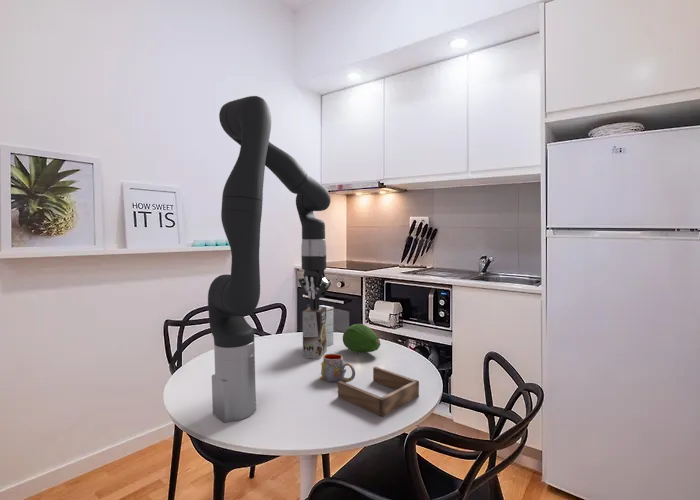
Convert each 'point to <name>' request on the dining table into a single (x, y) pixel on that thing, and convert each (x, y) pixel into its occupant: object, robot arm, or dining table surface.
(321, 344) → the coffee box
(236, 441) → the dining table surface
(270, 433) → the dining table surface
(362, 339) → the fruit
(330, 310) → the syrup box
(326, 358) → the mug
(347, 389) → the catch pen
